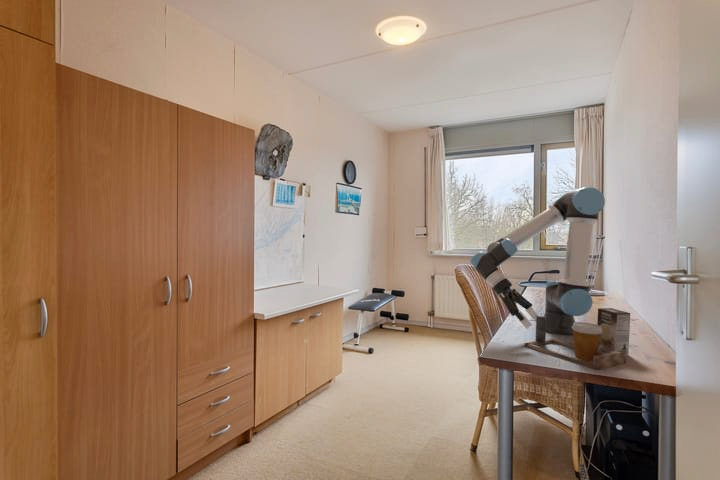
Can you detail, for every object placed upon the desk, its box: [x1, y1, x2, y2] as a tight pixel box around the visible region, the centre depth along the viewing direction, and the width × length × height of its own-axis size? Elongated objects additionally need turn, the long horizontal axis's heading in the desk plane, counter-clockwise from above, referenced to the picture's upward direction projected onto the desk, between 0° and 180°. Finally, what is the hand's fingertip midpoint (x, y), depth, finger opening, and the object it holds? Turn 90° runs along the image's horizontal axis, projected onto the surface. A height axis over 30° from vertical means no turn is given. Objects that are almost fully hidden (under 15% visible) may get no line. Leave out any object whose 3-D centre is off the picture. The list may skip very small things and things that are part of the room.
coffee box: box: [596, 307, 631, 356], centre depth 143 cm, size 9×6×16 cm
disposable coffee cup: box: [572, 321, 602, 362], centre depth 134 cm, size 10×10×12 cm
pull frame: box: [523, 315, 627, 371], centre depth 139 cm, size 17×29×11 cm, turn 28°
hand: (534, 323), depth 151 cm, fingers open, 13 cm apart
